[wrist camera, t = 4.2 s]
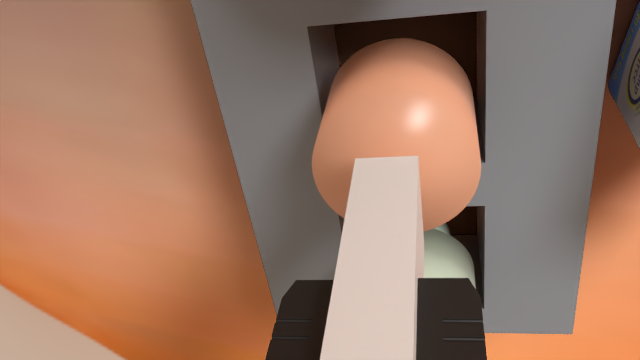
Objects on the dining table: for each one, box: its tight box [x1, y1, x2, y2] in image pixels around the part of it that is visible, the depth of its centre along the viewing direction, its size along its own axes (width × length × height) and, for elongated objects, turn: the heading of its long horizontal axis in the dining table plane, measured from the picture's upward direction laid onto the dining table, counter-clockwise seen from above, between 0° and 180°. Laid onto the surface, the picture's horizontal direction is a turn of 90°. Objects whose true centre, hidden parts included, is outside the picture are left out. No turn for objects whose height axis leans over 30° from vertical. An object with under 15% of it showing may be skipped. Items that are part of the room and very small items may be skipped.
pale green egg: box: [423, 223, 476, 289], centre depth 22 cm, size 4×4×6 cm
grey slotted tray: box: [191, 0, 616, 334], centre depth 21 cm, size 22×12×4 cm, turn 8°
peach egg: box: [312, 37, 481, 232], centre depth 18 cm, size 4×4×6 cm
